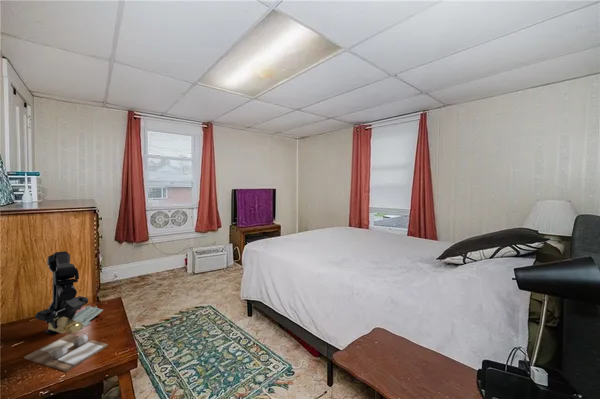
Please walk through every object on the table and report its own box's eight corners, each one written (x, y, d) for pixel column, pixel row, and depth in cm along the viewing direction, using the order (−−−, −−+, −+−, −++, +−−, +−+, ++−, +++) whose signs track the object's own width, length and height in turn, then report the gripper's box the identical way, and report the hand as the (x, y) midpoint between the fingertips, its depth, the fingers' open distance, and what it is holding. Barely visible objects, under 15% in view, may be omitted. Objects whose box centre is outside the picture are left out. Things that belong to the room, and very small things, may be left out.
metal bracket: (86, 302, 150) (107, 306, 148) (88, 309, 152) (109, 314, 150) (60, 320, 137) (82, 325, 134) (63, 328, 139) (84, 334, 136)
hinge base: (24, 358, 110) (24, 347, 110) (69, 335, 128) (70, 326, 127) (67, 371, 105) (67, 360, 105) (107, 346, 123) (108, 336, 123)
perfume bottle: (48, 328, 116) (49, 320, 116) (62, 322, 122) (63, 314, 122) (71, 336, 114) (72, 328, 114) (84, 329, 120) (85, 321, 119)
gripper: (55, 304, 107) (53, 339, 108) (98, 288, 125) (96, 318, 126) (35, 300, 109) (33, 334, 110) (79, 284, 127) (78, 314, 128)
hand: (62, 325), depth 118 cm, fingers closed on perfume bottle, 6 cm apart
